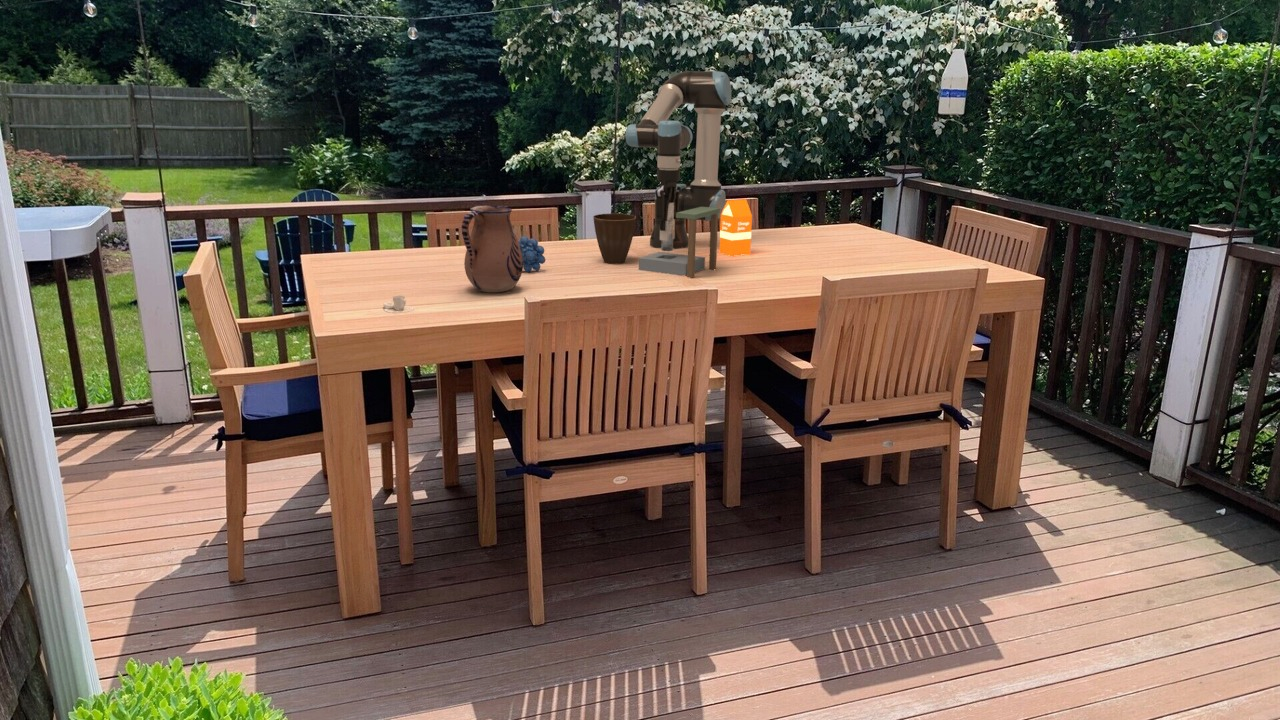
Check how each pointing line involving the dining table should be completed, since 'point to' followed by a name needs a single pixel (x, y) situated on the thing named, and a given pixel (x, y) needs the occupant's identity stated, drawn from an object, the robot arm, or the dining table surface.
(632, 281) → the dining table surface
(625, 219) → the plant pot
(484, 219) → the ceramic pitcher
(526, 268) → the grapes
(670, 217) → the steel peg
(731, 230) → the orange juice
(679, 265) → the socket block
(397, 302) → the teacup and saucer
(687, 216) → the awning
